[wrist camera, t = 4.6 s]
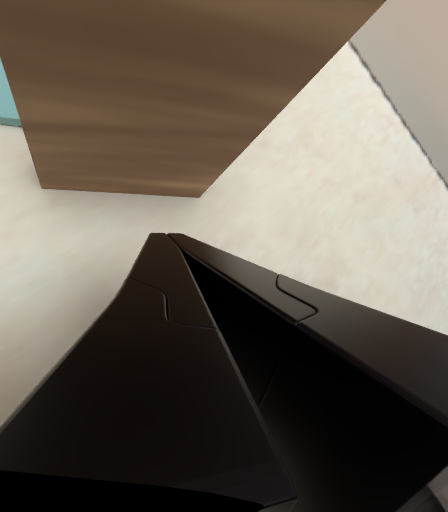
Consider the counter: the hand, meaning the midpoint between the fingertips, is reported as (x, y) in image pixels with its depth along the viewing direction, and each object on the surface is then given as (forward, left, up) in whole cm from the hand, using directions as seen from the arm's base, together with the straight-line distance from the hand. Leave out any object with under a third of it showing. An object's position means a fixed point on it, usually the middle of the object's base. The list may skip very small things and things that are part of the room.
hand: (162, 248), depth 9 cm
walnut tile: (+4, -2, -7) cm, 8 cm away
